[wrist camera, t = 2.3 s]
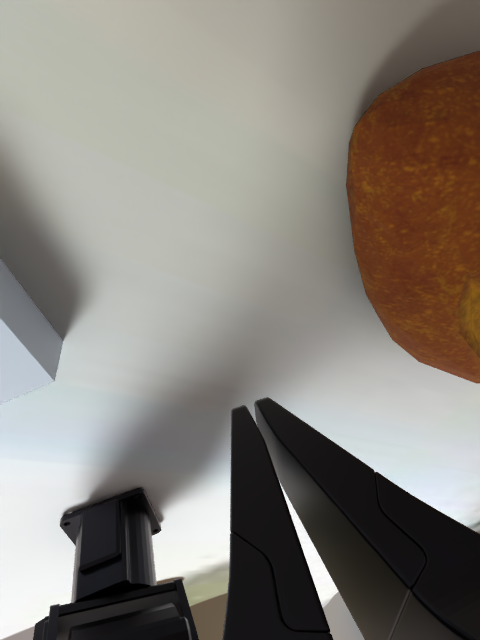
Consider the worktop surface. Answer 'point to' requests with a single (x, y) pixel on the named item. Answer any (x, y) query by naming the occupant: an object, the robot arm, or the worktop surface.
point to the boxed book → (24, 341)
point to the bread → (422, 213)
